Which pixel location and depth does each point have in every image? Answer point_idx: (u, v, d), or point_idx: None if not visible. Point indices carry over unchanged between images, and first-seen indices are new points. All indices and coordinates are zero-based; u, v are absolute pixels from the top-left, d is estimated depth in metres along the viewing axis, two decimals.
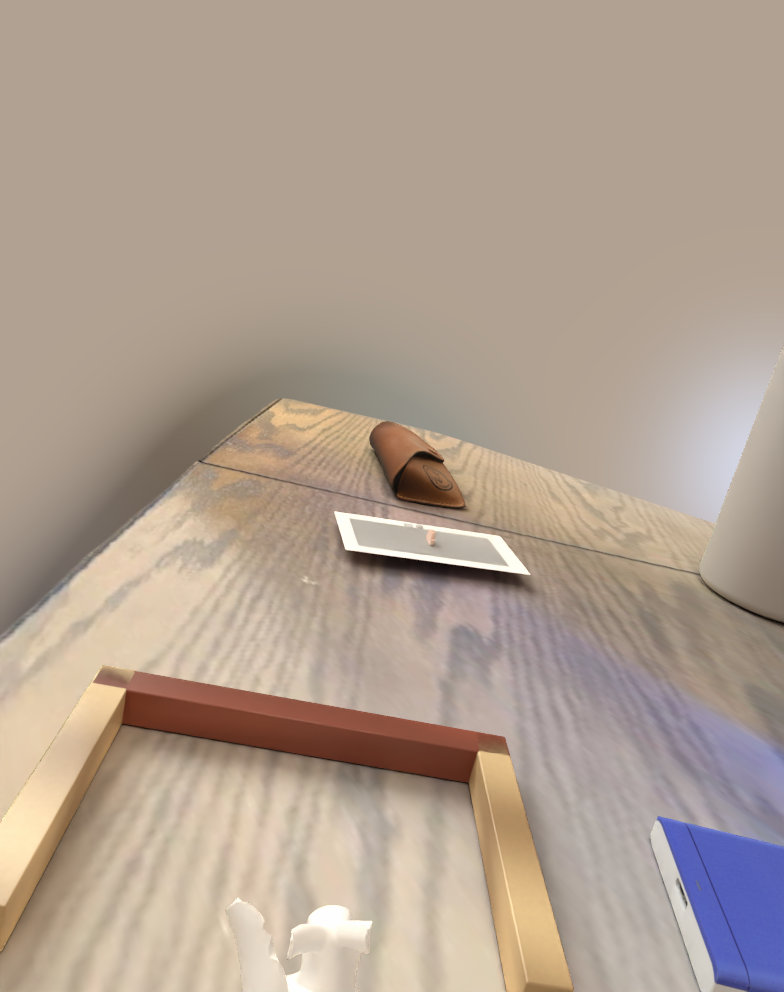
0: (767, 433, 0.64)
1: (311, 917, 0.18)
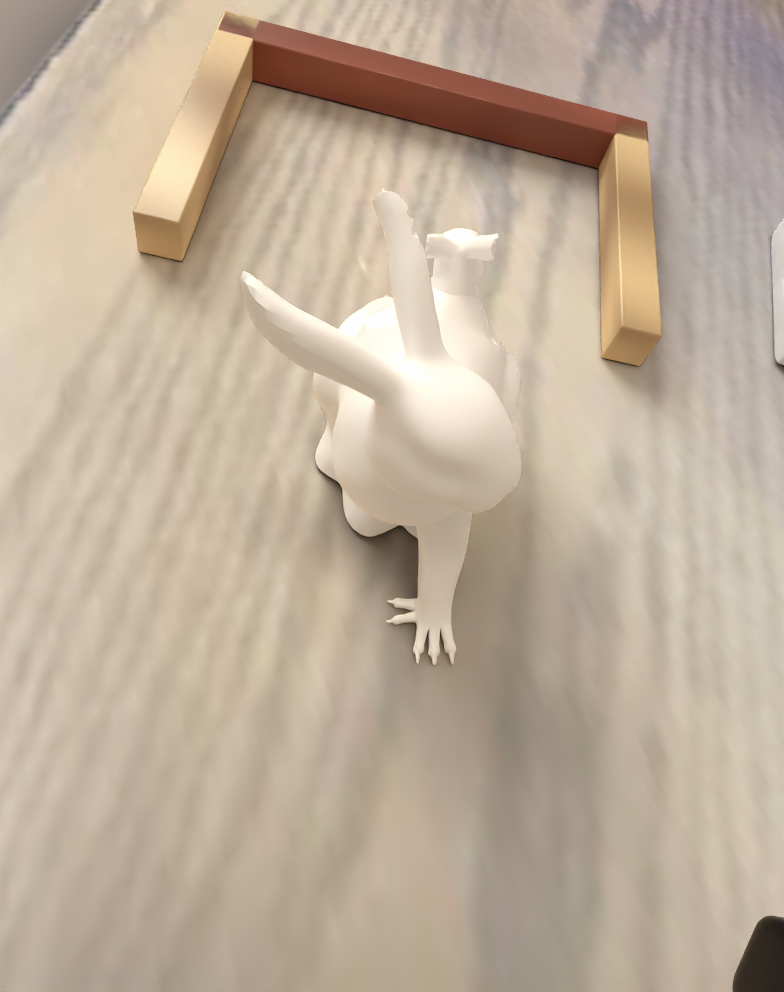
0: None
1: (443, 235, 0.21)
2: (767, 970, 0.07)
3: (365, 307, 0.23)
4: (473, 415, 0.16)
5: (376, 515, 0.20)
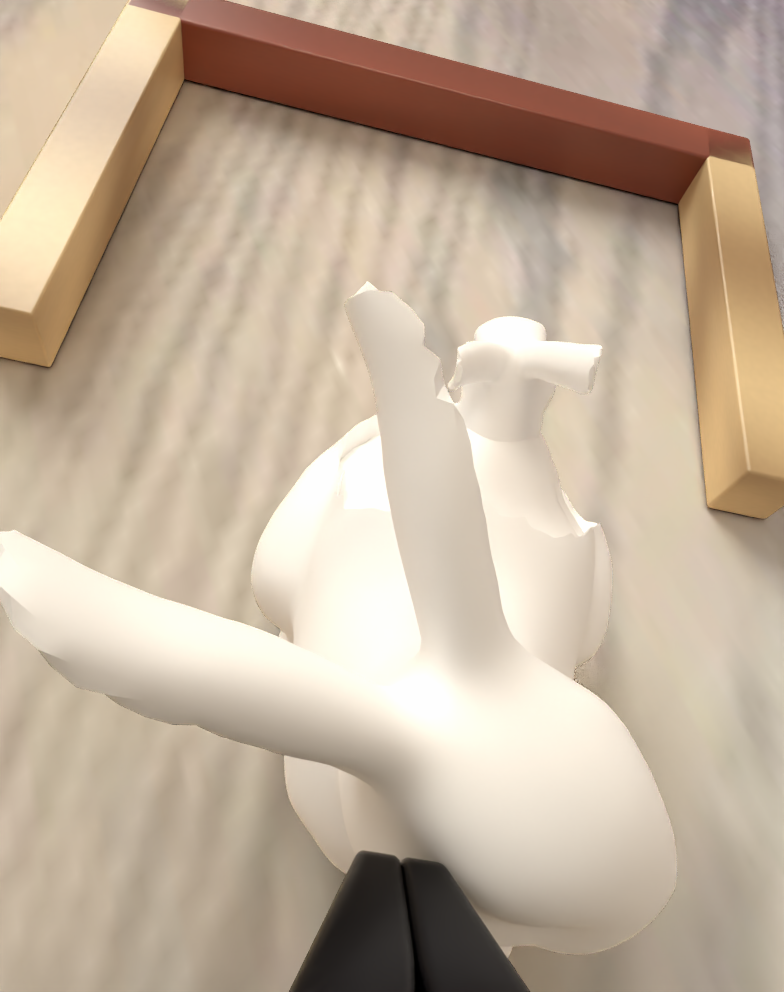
0: None
1: (481, 331, 0.11)
2: None
3: (341, 442, 0.13)
4: (589, 821, 0.07)
5: None
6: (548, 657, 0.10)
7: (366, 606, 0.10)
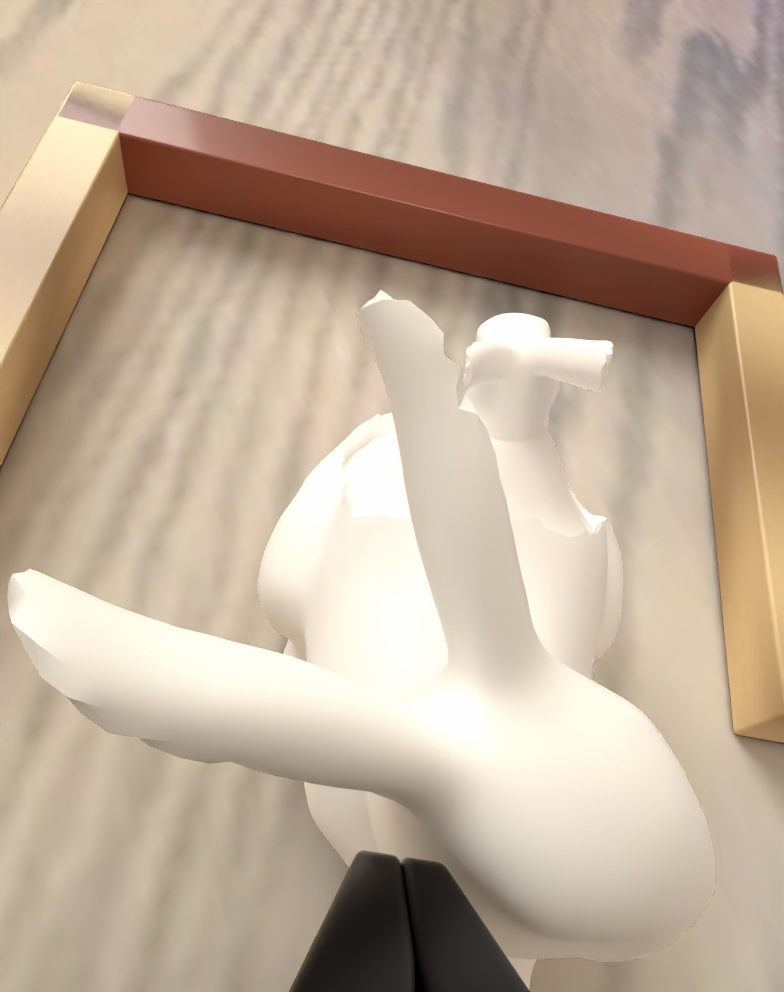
0: None
1: (484, 330, 0.11)
2: None
3: (343, 447, 0.13)
4: (632, 833, 0.07)
5: None
6: (569, 659, 0.10)
7: (384, 617, 0.10)
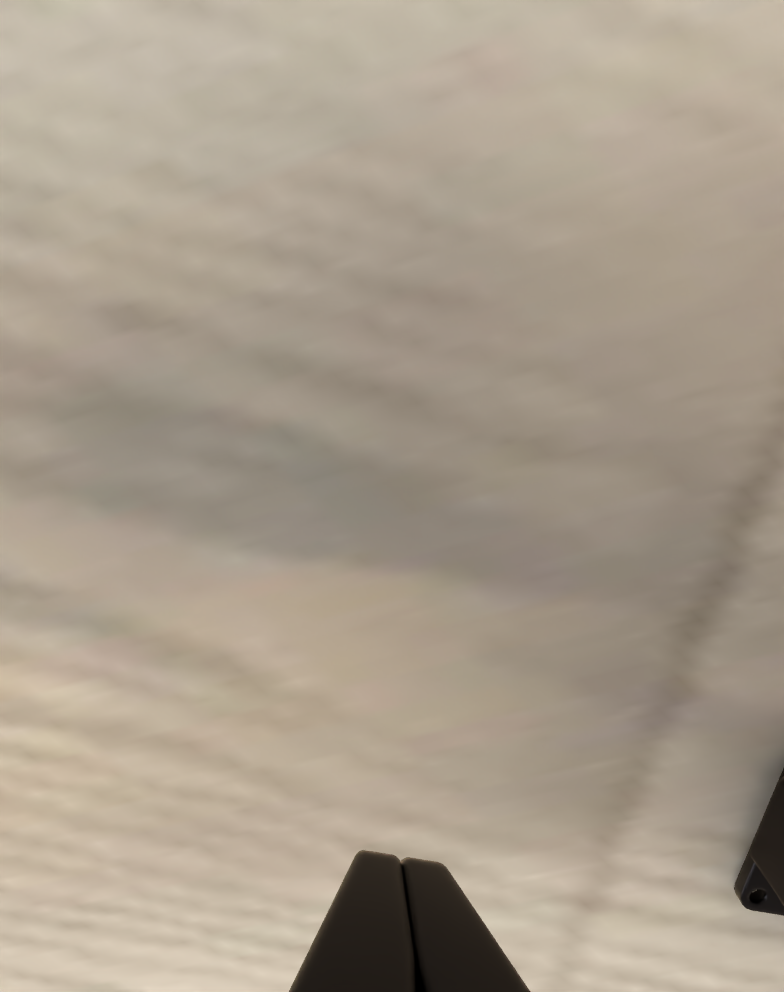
0: None
1: None
2: None
3: None
4: None
5: None
6: None
7: None
